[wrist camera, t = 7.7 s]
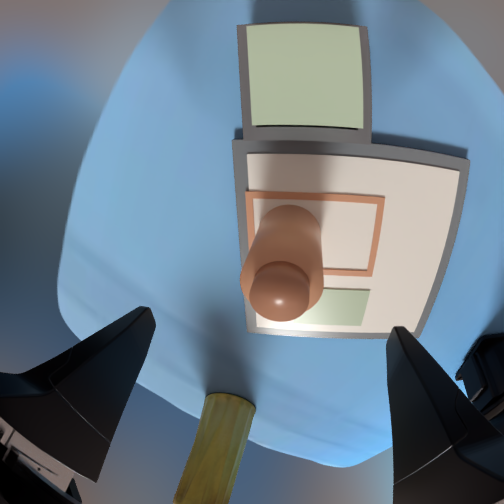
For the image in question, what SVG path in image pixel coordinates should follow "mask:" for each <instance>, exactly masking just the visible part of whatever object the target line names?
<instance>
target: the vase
mask: <svg viewBox="0 0 504 504" xmlns="http://www.w3.org/2000/svg"><path fill="white" fill-rule="evenodd" d="M255 412H256V410H255V407H254V406H253V405H252V404H251V403H250V402H249V401H247V400H245V399H244V398H241V397H239V396H236V395H232V394H227V393H213V394H210V395H208V396H207V397H206V398H205V401H204V406H203V410H202V414H201V418H200V422H199V426H198V430H197V434H196V438H195V442H194V444H193V447H192V450H191V452H190V455H189V457H188V460H187V463H186V466H185V469H184V471H183V475H182V477H181V480H180V483H179V485H178V488H177V491H176V494H175V496H174V500H173V503H174V504H228V503H229V499H230V496H231V493H232V489H233V486H234V483H235V479H236V475H237V471H238V468H239V465H240V461H241V458H242V455H243V451H244V448H245V445H246V442H247V439H248V435H249V432H250V428H251V424H252V420H253V417H254V414H255Z"/></svg>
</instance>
